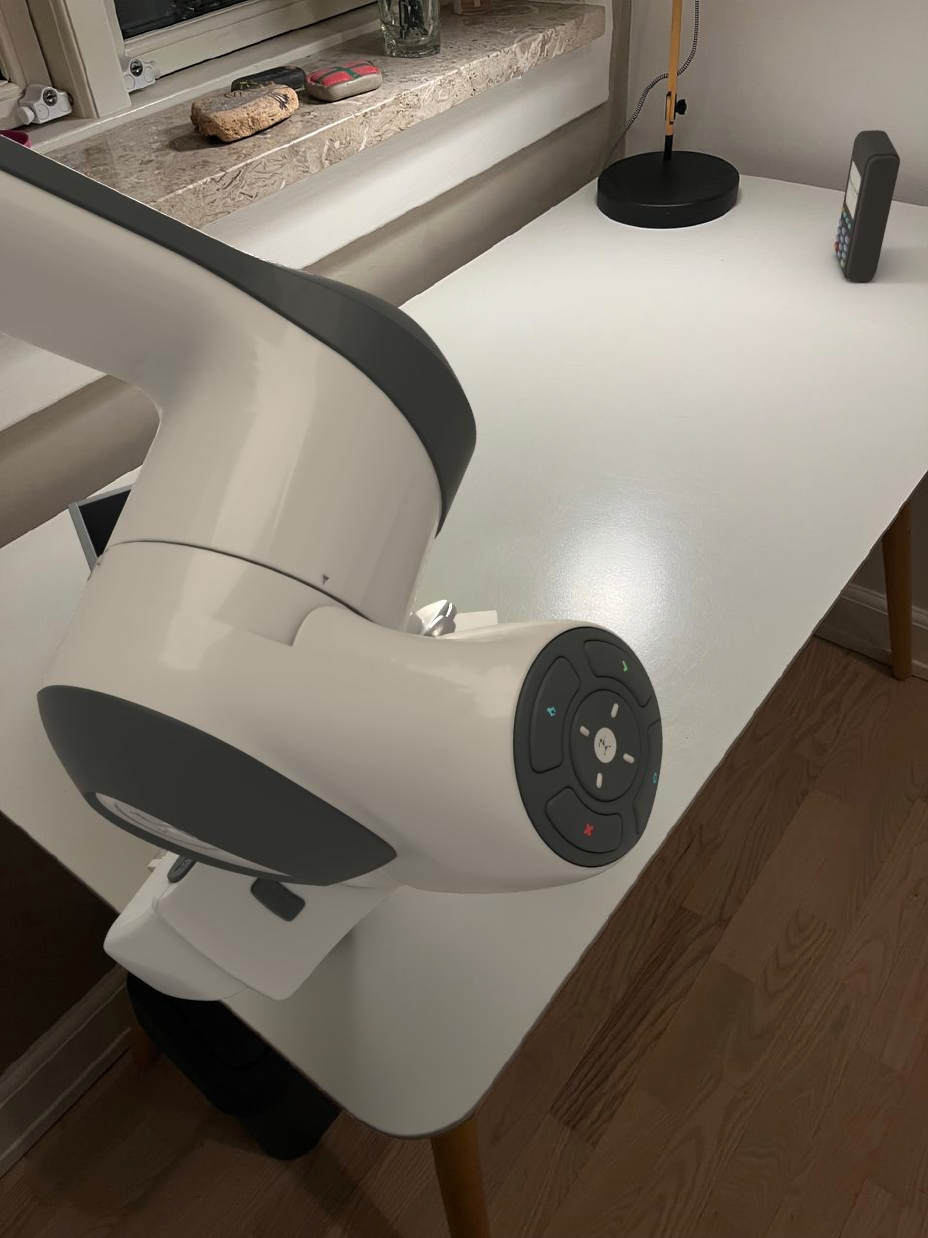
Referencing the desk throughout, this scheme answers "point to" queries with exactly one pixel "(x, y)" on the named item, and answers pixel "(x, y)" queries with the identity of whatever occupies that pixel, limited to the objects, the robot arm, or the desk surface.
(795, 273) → the desk surface
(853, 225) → the card reader
